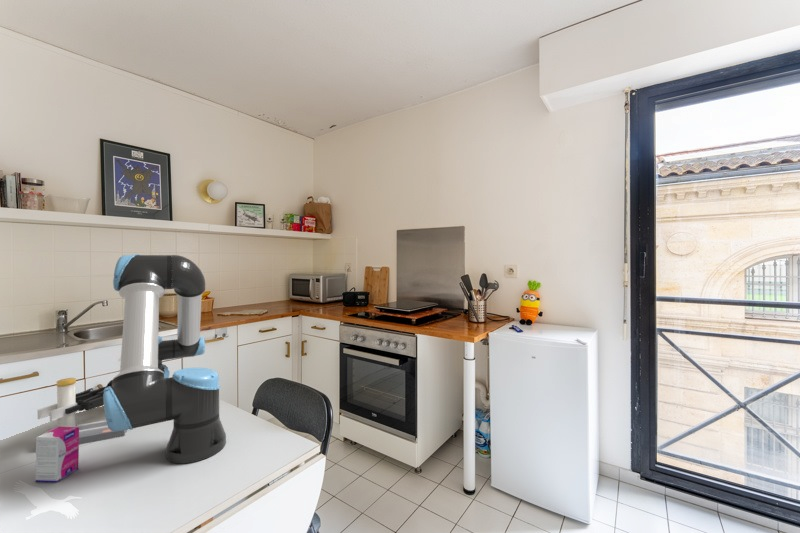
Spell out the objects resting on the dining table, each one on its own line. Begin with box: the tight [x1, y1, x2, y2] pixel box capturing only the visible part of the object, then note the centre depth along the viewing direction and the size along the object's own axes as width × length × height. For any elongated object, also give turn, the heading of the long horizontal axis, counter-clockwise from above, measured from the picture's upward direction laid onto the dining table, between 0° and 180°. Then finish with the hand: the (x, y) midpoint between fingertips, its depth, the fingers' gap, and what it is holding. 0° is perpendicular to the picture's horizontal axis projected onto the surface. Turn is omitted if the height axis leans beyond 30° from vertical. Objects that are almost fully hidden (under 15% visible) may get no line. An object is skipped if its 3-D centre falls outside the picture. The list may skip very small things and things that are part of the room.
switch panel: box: [46, 419, 128, 445], centre depth 107 cm, size 20×10×3 cm, turn 118°
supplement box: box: [34, 426, 80, 484], centre depth 87 cm, size 6×6×12 cm
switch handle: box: [56, 377, 77, 427], centre depth 104 cm, size 4×4×16 cm
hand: (44, 415), depth 99 cm, fingers closed on switch handle, 4 cm apart
